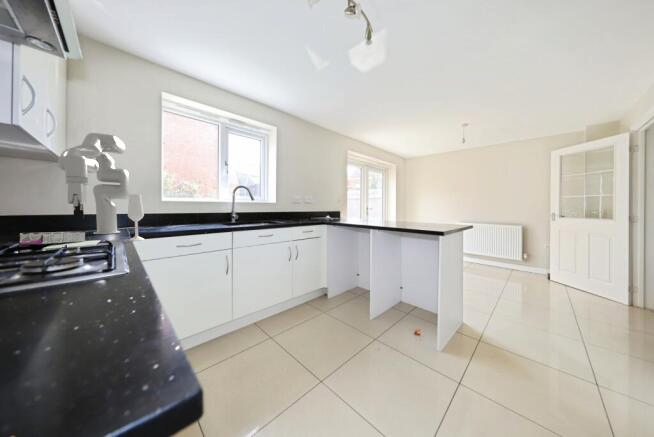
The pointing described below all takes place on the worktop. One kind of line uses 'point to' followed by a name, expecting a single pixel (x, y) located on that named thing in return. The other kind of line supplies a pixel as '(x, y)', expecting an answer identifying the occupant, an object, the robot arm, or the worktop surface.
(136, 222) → the champagne flute
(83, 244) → the mat
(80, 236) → the candy bar box
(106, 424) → the worktop surface
